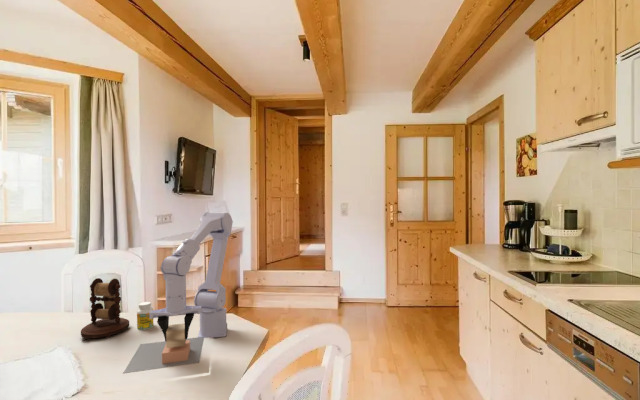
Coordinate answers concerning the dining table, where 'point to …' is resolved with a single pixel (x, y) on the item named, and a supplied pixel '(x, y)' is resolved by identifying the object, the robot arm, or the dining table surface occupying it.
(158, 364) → the build board
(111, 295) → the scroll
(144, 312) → the supplement bottle
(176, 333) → the beech cube
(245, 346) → the dining table surface
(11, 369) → the dining table surface
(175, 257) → the robot arm
